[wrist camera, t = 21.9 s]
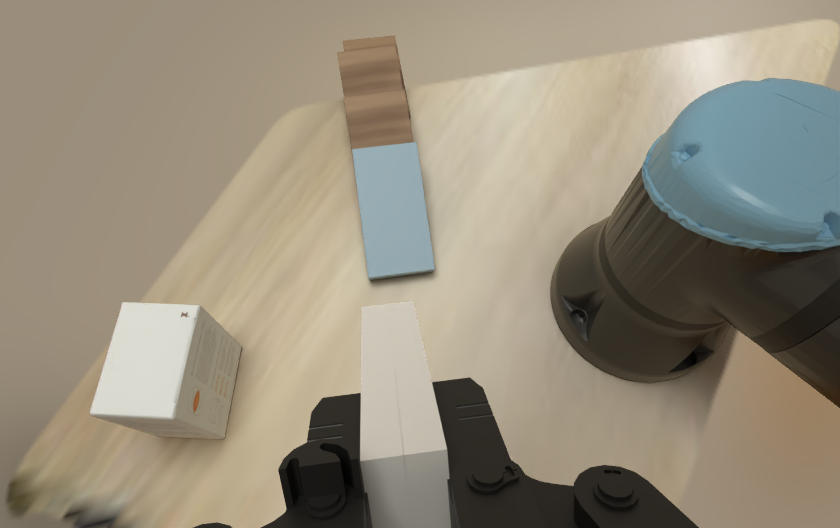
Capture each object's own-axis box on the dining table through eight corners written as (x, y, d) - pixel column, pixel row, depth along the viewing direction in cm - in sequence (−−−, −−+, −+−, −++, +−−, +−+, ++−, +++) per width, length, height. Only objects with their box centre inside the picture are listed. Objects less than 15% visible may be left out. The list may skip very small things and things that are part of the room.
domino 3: (424, 207, 50) (404, 89, 52) (362, 217, 50) (343, 97, 51) (423, 212, 52) (403, 98, 54) (363, 221, 52) (344, 106, 53)
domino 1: (414, 155, 53) (394, 45, 54) (355, 164, 52) (337, 52, 54) (413, 162, 55) (394, 55, 56) (356, 170, 54) (338, 62, 56)
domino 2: (410, 115, 56) (394, 35, 61) (353, 121, 55) (342, 40, 60) (410, 128, 57) (395, 49, 63) (355, 134, 57) (344, 54, 62)
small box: (180, 343, 46) (121, 297, 37) (244, 346, 46) (200, 301, 37) (156, 438, 43) (84, 415, 33) (225, 441, 43) (172, 419, 33)
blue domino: (434, 268, 48) (416, 142, 49) (368, 277, 47) (352, 149, 49) (432, 271, 50) (415, 149, 51) (369, 279, 49) (353, 156, 51)
